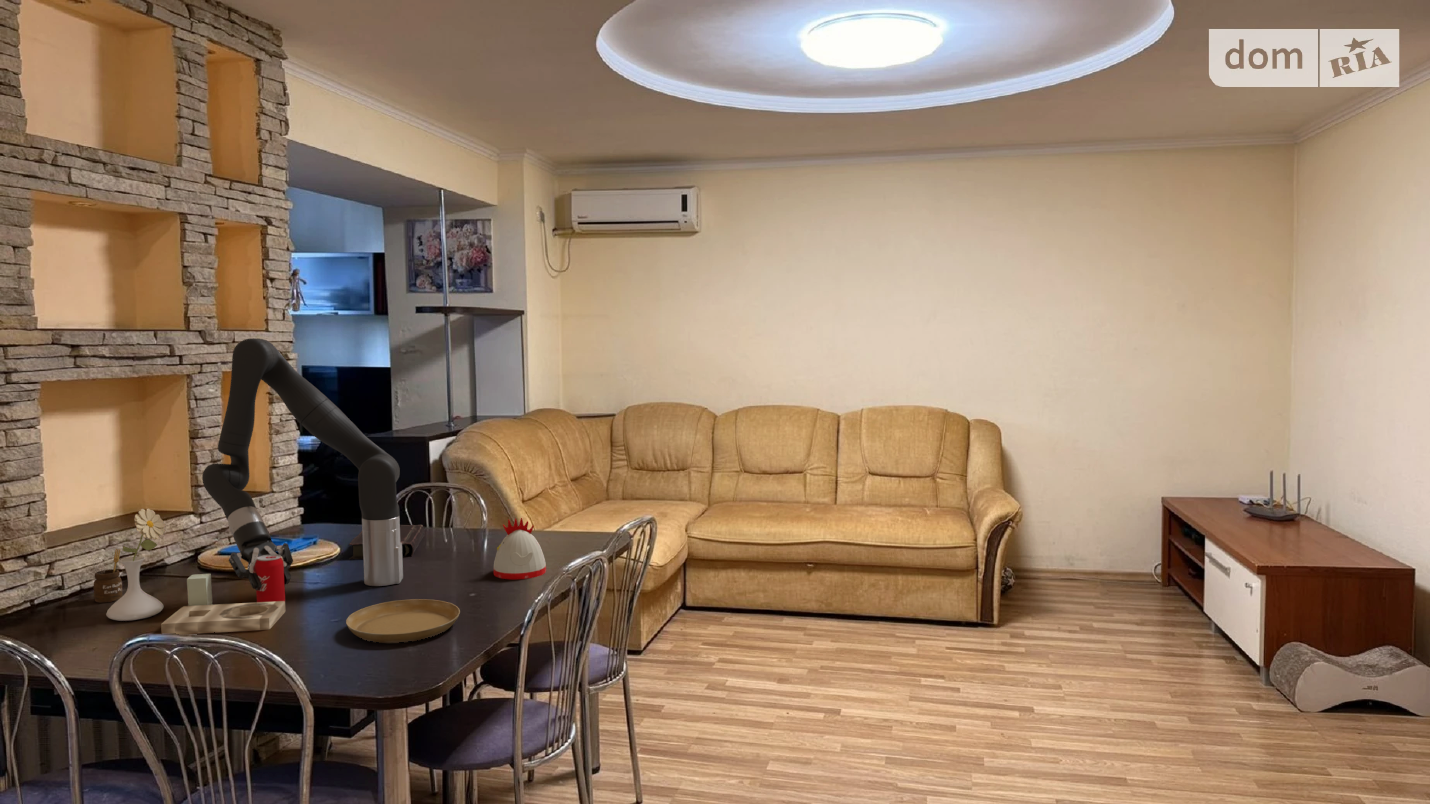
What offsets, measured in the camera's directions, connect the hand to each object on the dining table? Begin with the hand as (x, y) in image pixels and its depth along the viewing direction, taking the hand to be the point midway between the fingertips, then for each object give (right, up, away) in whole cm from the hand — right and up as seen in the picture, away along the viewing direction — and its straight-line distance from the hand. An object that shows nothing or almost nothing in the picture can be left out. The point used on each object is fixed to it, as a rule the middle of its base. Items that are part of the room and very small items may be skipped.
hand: (273, 585), depth 230 cm
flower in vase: (-28, -6, -6) cm, 30 cm away
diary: (+7, -1, +60) cm, 60 cm away
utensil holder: (-44, -5, +7) cm, 45 cm away
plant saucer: (+36, -7, -15) cm, 40 cm away
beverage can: (-1, -5, +2) cm, 6 cm away
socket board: (-5, -7, -13) cm, 15 cm away
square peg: (-15, -6, -4) cm, 17 cm away
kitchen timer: (+53, -3, +31) cm, 61 cm away
